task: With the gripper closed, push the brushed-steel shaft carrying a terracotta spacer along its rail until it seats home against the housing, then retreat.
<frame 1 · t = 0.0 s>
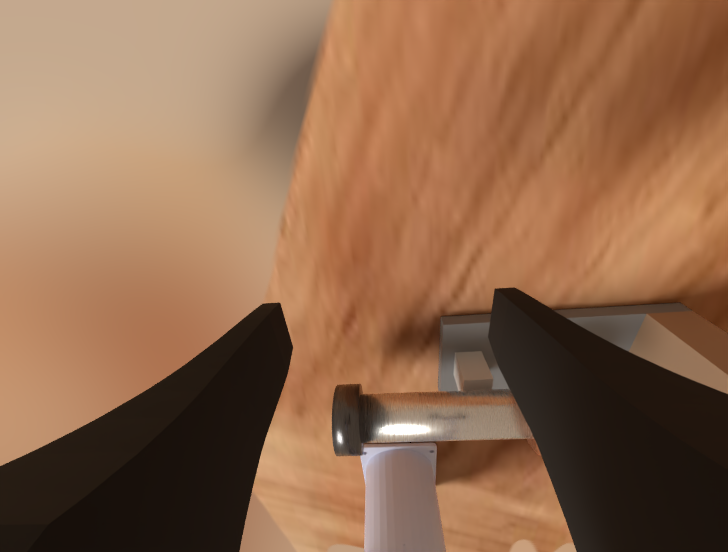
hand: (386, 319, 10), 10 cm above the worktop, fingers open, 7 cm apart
shaft: (453, 414, 20), point 5 cm above the worktop, slide at 6.0 cm
shaft stand: (539, 350, 24), on the worktop
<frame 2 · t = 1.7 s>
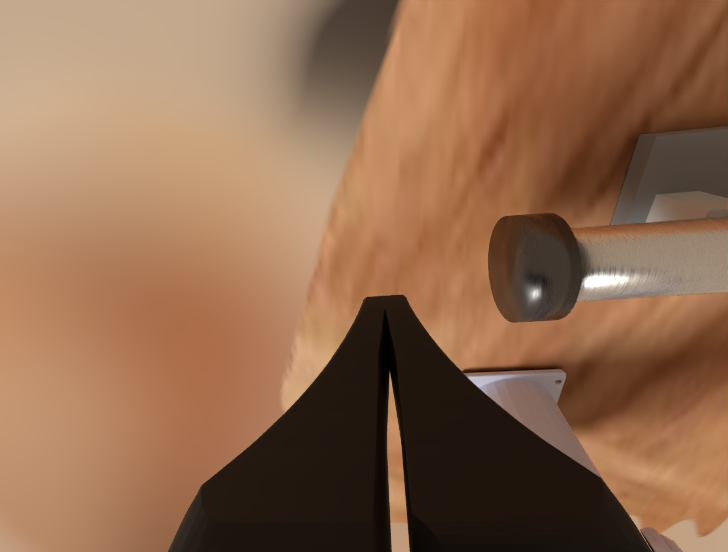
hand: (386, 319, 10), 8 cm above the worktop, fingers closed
shaft: (708, 255, 12), point 5 cm above the worktop, slide at 6.0 cm
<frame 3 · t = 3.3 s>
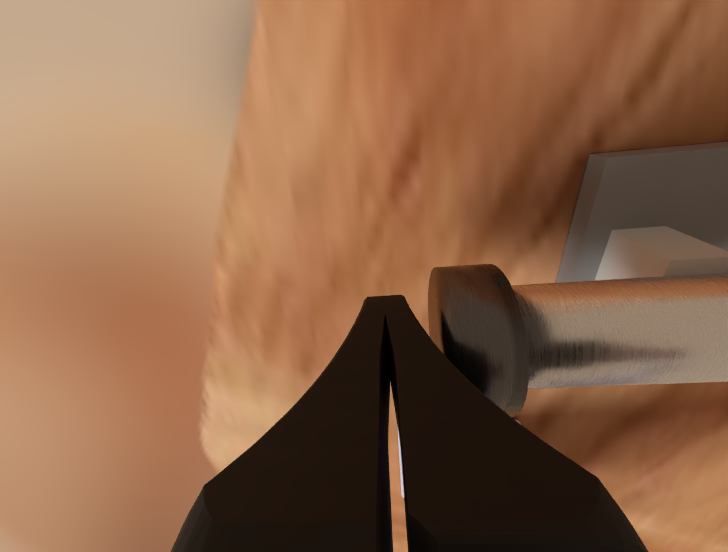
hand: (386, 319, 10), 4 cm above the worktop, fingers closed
shaft: (715, 325, 8), point 5 cm above the worktop, slide at 4.7 cm, touching gripper
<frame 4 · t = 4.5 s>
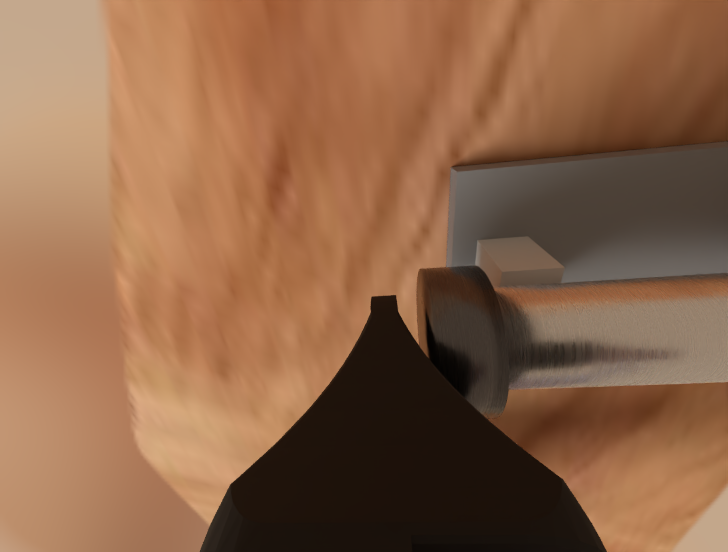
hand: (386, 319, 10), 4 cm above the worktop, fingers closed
shaft: (699, 326, 8), point 5 cm above the worktop, slide at -0.1 cm, touching gripper
shaft stand: (629, 244, 13), on the worktop
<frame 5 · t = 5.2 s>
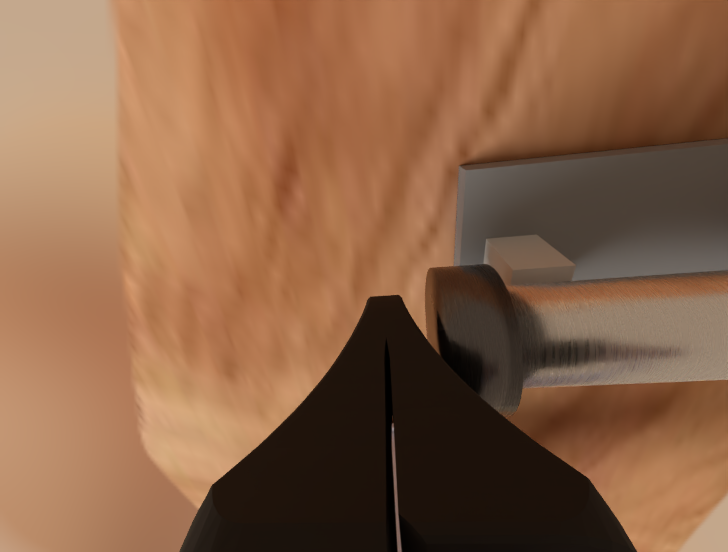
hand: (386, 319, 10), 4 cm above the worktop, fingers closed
shaft: (712, 323, 8), point 5 cm above the worktop, slide at -0.1 cm, touching gripper
shaft stand: (638, 241, 13), on the worktop
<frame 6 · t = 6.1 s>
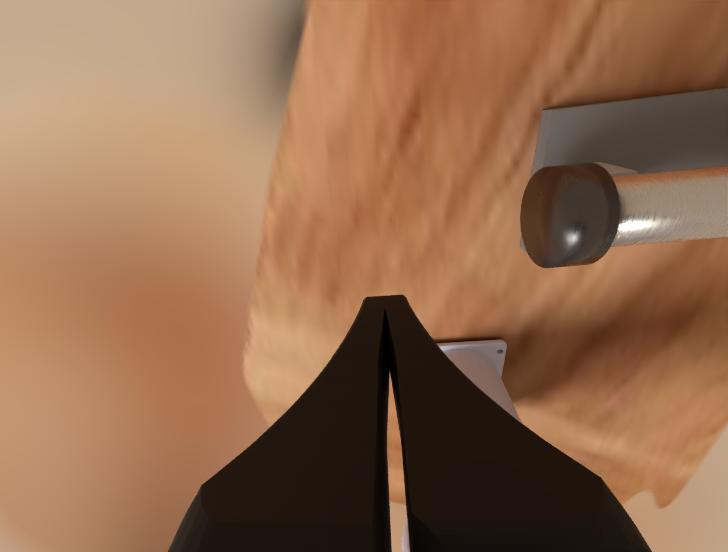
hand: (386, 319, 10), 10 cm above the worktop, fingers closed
shaft stand: (673, 171, 17), on the worktop
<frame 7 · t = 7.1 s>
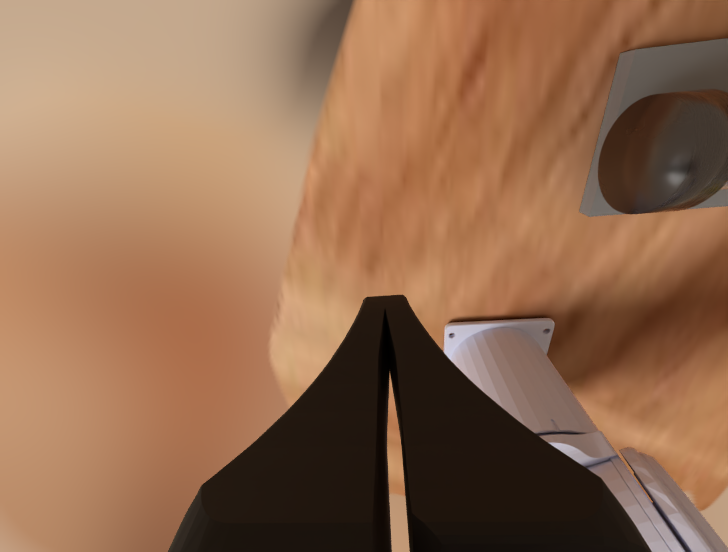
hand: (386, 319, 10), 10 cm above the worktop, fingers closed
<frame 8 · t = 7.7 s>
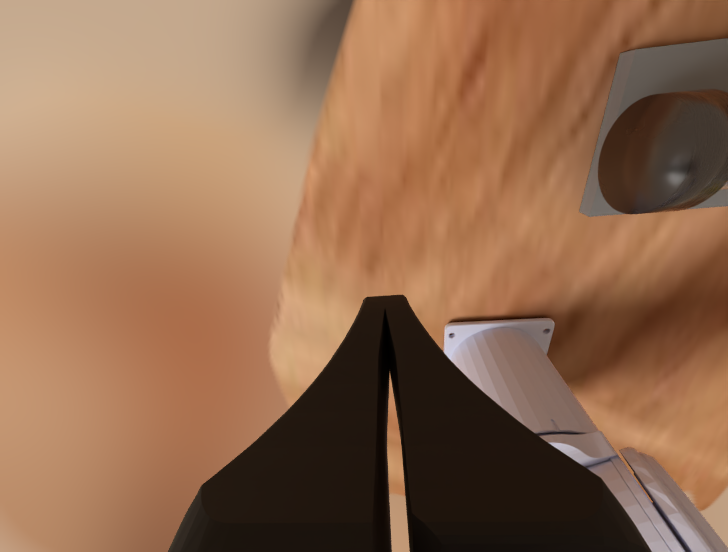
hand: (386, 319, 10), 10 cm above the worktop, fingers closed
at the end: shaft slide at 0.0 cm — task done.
